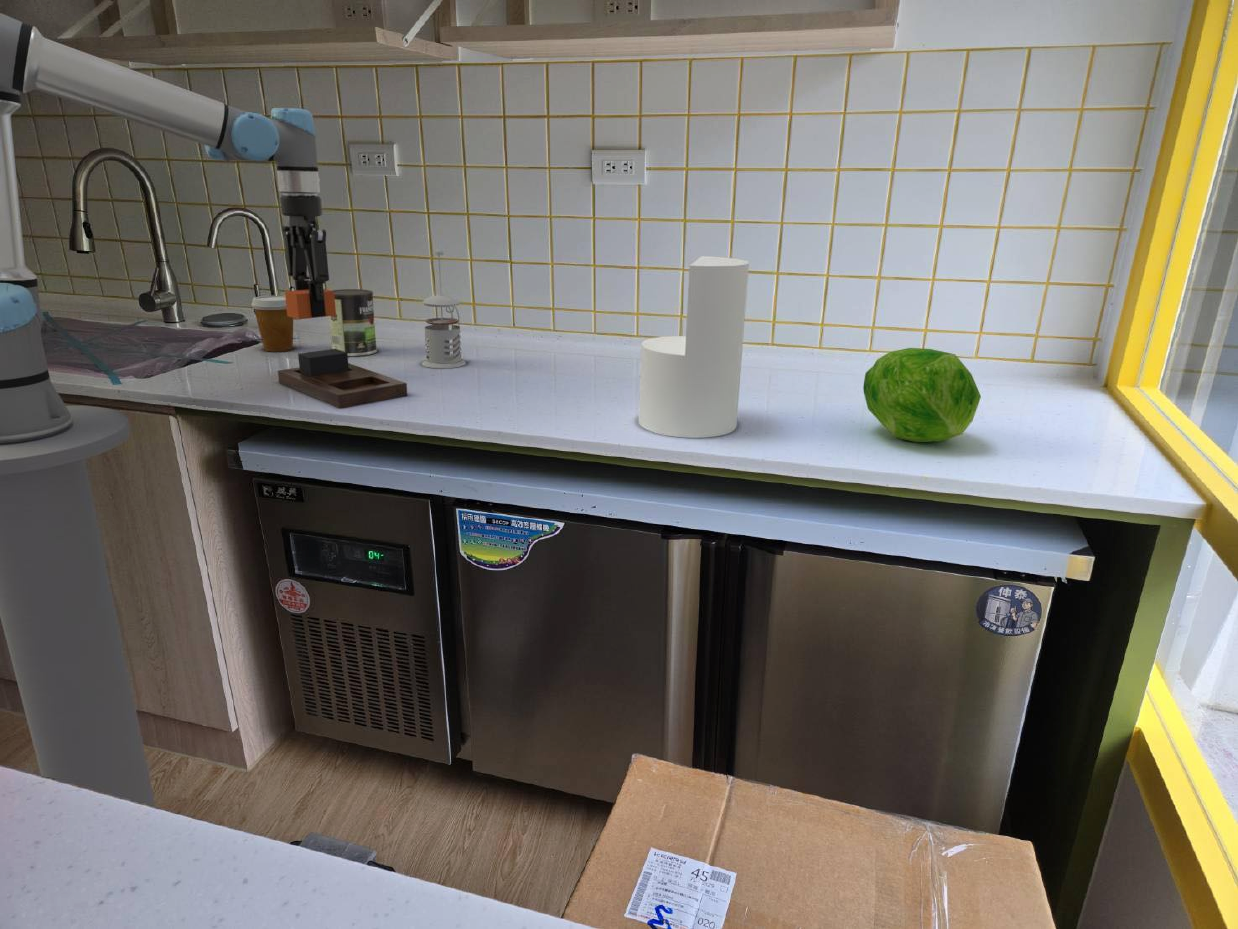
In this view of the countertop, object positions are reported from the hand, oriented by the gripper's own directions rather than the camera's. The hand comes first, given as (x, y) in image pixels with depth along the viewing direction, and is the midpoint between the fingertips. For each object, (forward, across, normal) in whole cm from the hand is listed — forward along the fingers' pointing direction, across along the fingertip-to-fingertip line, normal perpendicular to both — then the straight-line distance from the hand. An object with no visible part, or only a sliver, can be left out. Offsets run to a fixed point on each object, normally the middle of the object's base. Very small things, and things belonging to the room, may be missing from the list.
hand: (311, 314), depth 167 cm
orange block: (0, 0, 0) cm, 0 cm away
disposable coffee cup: (+13, +30, -6) cm, 33 cm away
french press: (+13, -8, -27) cm, 31 cm away
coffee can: (+13, +16, -17) cm, 27 cm away
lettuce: (+13, -106, -53) cm, 119 cm away
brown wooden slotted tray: (+13, -14, +2) cm, 19 cm away
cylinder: (+13, -75, -31) cm, 82 cm away
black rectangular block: (+12, -7, +2) cm, 14 cm away
